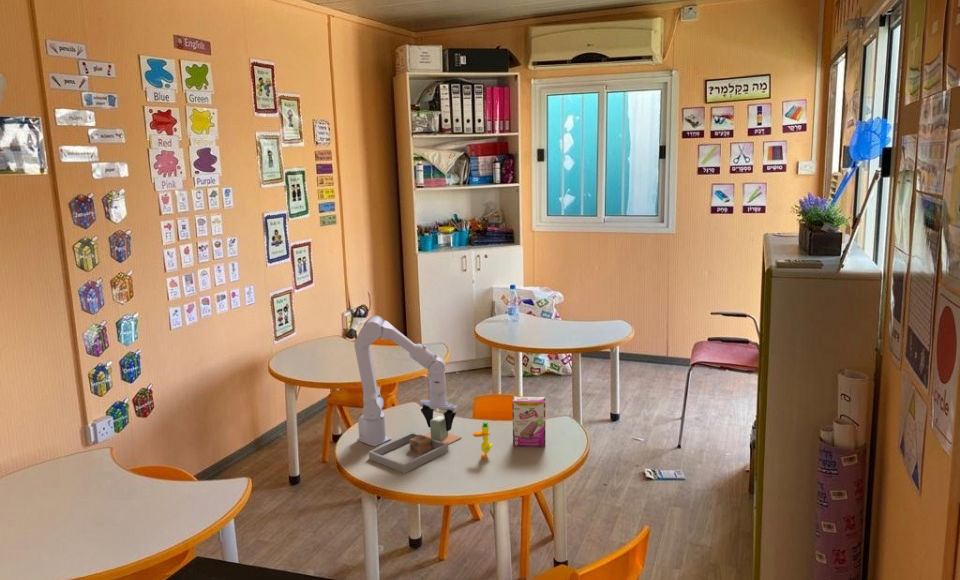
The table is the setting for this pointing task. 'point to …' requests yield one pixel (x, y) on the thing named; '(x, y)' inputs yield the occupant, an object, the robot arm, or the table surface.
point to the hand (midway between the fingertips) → (439, 428)
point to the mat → (447, 440)
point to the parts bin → (377, 456)
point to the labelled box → (438, 428)
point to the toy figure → (484, 439)
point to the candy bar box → (529, 421)
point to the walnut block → (420, 444)
